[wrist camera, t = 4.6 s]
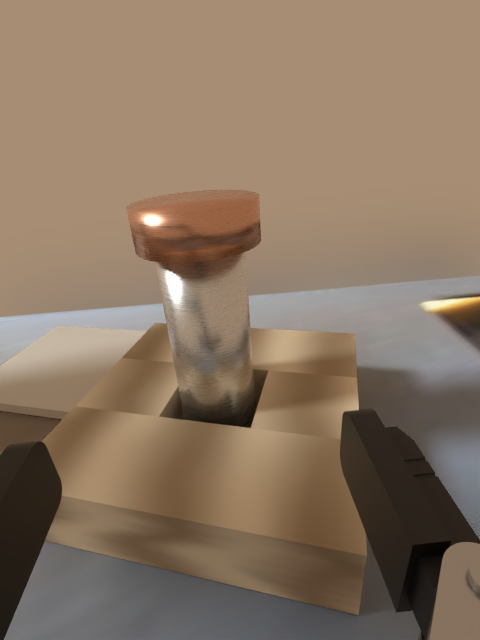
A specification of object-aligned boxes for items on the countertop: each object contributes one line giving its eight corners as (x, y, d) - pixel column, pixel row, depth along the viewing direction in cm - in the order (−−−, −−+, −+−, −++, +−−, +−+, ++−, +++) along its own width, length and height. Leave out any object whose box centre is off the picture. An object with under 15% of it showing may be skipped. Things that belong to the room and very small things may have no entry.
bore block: (30, 536, 19) (1, 483, 17) (162, 362, 32) (154, 322, 30) (358, 615, 15) (367, 556, 13) (350, 378, 28) (354, 333, 26)
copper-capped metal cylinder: (161, 472, 22) (99, 215, 15) (196, 406, 27) (161, 192, 20) (260, 488, 20) (241, 211, 13) (277, 415, 25) (269, 187, 18)
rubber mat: (-41, 405, 29) (-46, 397, 29) (59, 332, 39) (57, 325, 39) (89, 423, 26) (86, 414, 26) (161, 338, 36) (160, 331, 36)
